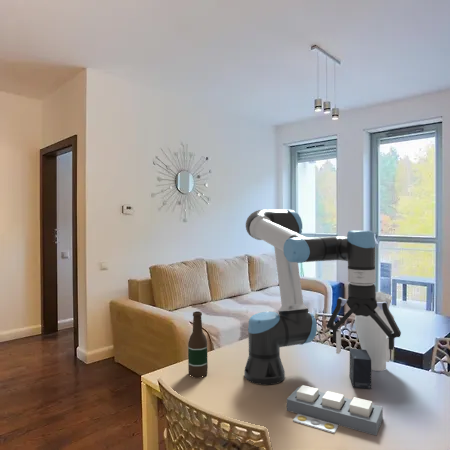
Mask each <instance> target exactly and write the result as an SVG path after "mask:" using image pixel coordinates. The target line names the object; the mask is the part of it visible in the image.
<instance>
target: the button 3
mask: <svg viewBox="0 0 450 450" xmlns="http://www.w3.org/2000/svg"><path fill="white" fill-rule="evenodd" d="M351 399H352V401H351V403H350V413H354V414H358V415H362V416H366V417H369V416H370V414H371V411H372V404H373V401H372V400H367V399H364V398H359V397H355V396H354V397H353V398H351Z"/></svg>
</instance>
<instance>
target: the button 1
mask: <svg viewBox="0 0 450 450" xmlns="http://www.w3.org/2000/svg"><path fill="white" fill-rule="evenodd" d="M299 387H300V388H299V390H298V391H297V399H300V400H304V401H308V402H312V403H314V402H315V400H316V399H317V398H318V396H319V392H320V391H319V388H316V387H312V386H308V385H304V384H302V385H301V386H299Z"/></svg>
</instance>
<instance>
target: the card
mask: <svg viewBox="0 0 450 450" xmlns="http://www.w3.org/2000/svg"><path fill="white" fill-rule="evenodd" d="M292 421H293V422H294V423H298V424H301V425H305V426H308V427H312V428H315V429H318V430H321V431H325V432H328V433H332V434H335V433H336V432H337V429H338V428H339V425H337V424H333V423H330V422H326V421H322V420H319V419H315V418H312V417H308V416H305V415H301V414H298V413H297V414H296V415H295V417H294V418H293V420H292Z"/></svg>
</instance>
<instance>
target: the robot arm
mask: <svg viewBox="0 0 450 450" xmlns="http://www.w3.org/2000/svg"><path fill="white" fill-rule="evenodd" d="M245 230H246V232H247V234H248V235H249V236H250V237H251V238H253V239H255V240H257V241H264V242H266V243H267V244H269V245H271V246H273V247H274V255H275V261H276V262H275V263H276V271H277V272H276V273H277V280H278V287H279V295H280V302H281V306H280V308H279V309H278V312H275V311H262V312H258V313H255V314H253V315H251V317H250V318H249V319H248V328H247V332H248V357H247V360H246V364H245V367H244V378H245V380H247V381H248V382H250V383H253V384H257V385H264V386H266V385H267V386H269V385H270V386H271V385H275V384H280V383H282V382H283V381H284V380H285V378H286V376H285V375H286V374H285V373H286V372H285V368H284V364H283V362H282V358H281V356H280V352H281V351H280V350H281V349H280V348H283V347H291V346H292V347H293V346H296V345H305V344H309V343H311V342H312V341H314V339H315V338H316V335H317V331H318V324H317V320H316V317H315V315H314V314H313V313H312V312H310V311H309V307H308V306H306V305H305V304H304V298H303V290H302V282H301V276H300V269H299V264H302V263H310V262H329V261H341V262H342V261H345V262H347V282H348V284H347V299H346V298H343V297H340V296H339V297H338V298H337V300H336V306H335V307H334V310H333V311H332V314H331V315H330V317H329V319H328V321H327V323H326V325H325V326H326V328H327V329H330V330H332V341H333V342H335V344H336V345H335V346H336V347H335V348H336V349H335V351H336V352H335V353H336V354H337V355H339V354H340V353H341V352H342V329H339V328H340V327H341V326H342V325H344V323H345V321H346V320H348V318H349V317H351V316H352V314H353V315H357V316H360V315H362V316H366V317H367V316H369V315H370V316H371V318H372V319H374V320H375V322H376V323H377V324H378V325H379V326H380V328H381V329H382V330H383V331H384V332H385V334H386V335H387V337H386V363H390V360H391V351H394V348H395V338H401V335H402V331H401V329H400V328H399V326H398V324H397V322H396V321H395V317H394V318H393V316H394V315H393V314H392V313H391V311H390V307H389V308H388V302H387V301H384V302H377V301H376V292H377V291H376V284H375V283H376V245H377V244H376V238H375V233H374V231H372V230H362V229H361V230H349V231H348V232H347V236H342V235H341V236H339V235H329V236H312V237H311V236H310V237H309V236H305V235H303V234H302V233H303V231H302V230H303V220H302V218H301V216H300V214H299V213H298V212H296V210H293V209H287V208H284V209H280V208H279V209H257V210H254V212H252V213H250V215H248V217H247V219H246V221H245ZM345 304H346V306H348V308H349V310H348V311H347V312H346V313H345V314H344V315H343V316H342V317H341V318H340V319H339V321H337V323H335V324H334V322H335V320H336V319H337V317H338V316H339V313H340V311H341V309H342V308H343V306H345ZM377 306H378V307H380V309H381V310H383V312H384V315H385V316H386V318H387V320H388V322H389V324H390V326H391V328H392V330H393V332H392V331H391V330H390V328H389V327H388V326H387V325H386V324H385V322H384V321H383V320H382V319H381V318H380V316H379V315H378V313H377V312H376V311H375V309H376V307H377ZM391 314H392V315H393V316H392V315H391Z"/></svg>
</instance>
